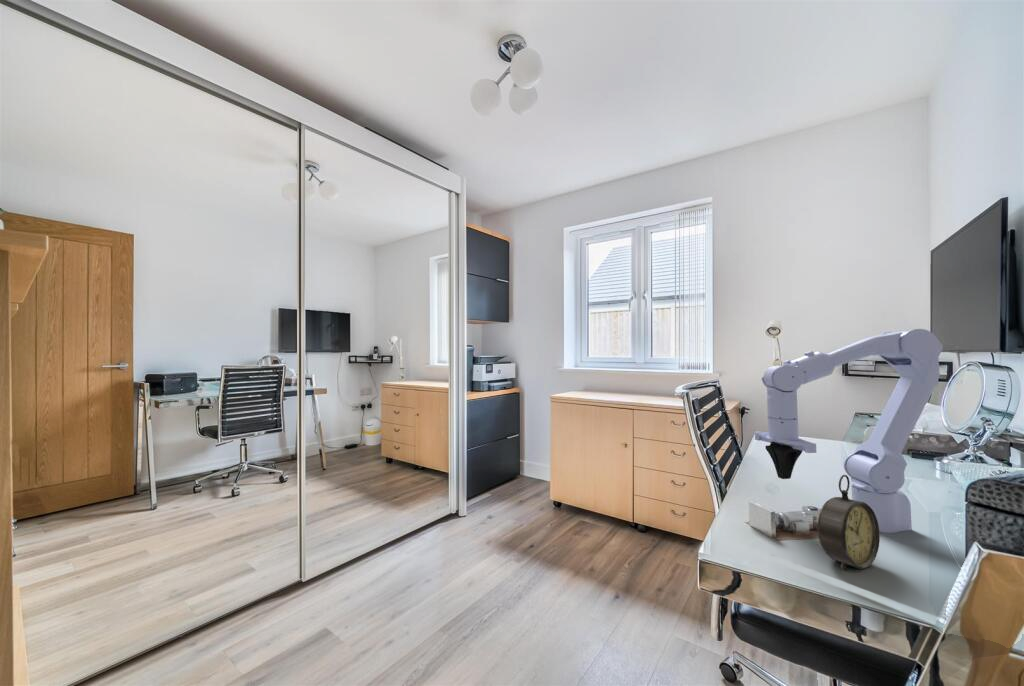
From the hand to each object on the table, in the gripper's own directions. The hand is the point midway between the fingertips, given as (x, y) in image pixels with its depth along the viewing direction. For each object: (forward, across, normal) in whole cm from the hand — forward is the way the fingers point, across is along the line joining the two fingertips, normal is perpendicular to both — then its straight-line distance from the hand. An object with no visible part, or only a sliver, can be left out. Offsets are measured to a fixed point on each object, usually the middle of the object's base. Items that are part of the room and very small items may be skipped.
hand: (784, 478), depth 89 cm
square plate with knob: (+9, +5, -7) cm, 12 cm away
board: (+10, +5, -3) cm, 12 cm away
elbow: (+9, +6, -2) cm, 10 cm away
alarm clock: (+10, +19, -6) cm, 22 cm away
